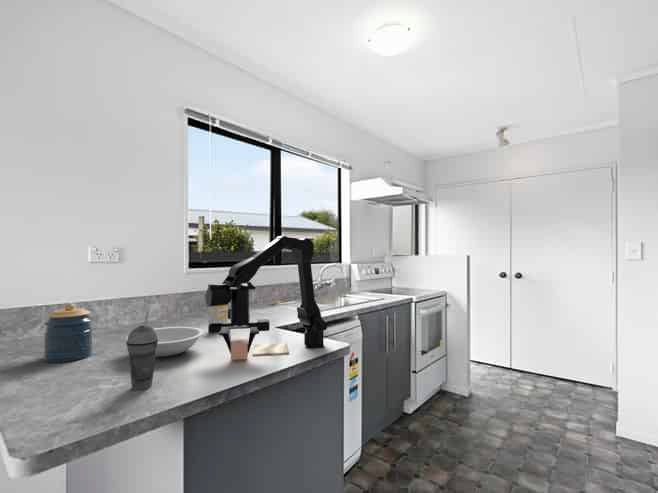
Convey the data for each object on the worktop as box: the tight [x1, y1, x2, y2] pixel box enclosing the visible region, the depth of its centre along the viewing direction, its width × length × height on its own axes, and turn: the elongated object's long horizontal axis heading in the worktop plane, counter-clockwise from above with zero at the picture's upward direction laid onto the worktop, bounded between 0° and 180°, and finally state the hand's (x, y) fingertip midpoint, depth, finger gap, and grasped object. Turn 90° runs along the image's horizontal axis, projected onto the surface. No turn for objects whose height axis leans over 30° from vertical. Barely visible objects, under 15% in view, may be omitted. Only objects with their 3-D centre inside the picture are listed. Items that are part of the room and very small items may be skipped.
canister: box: [42, 302, 94, 363], centre depth 115 cm, size 13×13×18 cm
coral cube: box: [230, 338, 249, 360], centre depth 113 cm, size 5×5×5 cm
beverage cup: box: [125, 308, 158, 391], centre depth 90 cm, size 7×7×20 cm
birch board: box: [252, 342, 290, 357], centre depth 125 cm, size 12×12×1 cm
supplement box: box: [208, 304, 229, 334], centre depth 153 cm, size 8×5×13 cm, turn 168°
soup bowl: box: [125, 326, 205, 357], centre depth 119 cm, size 24×24×7 cm
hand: (239, 352), depth 113 cm, fingers closed on coral cube, 5 cm apart
